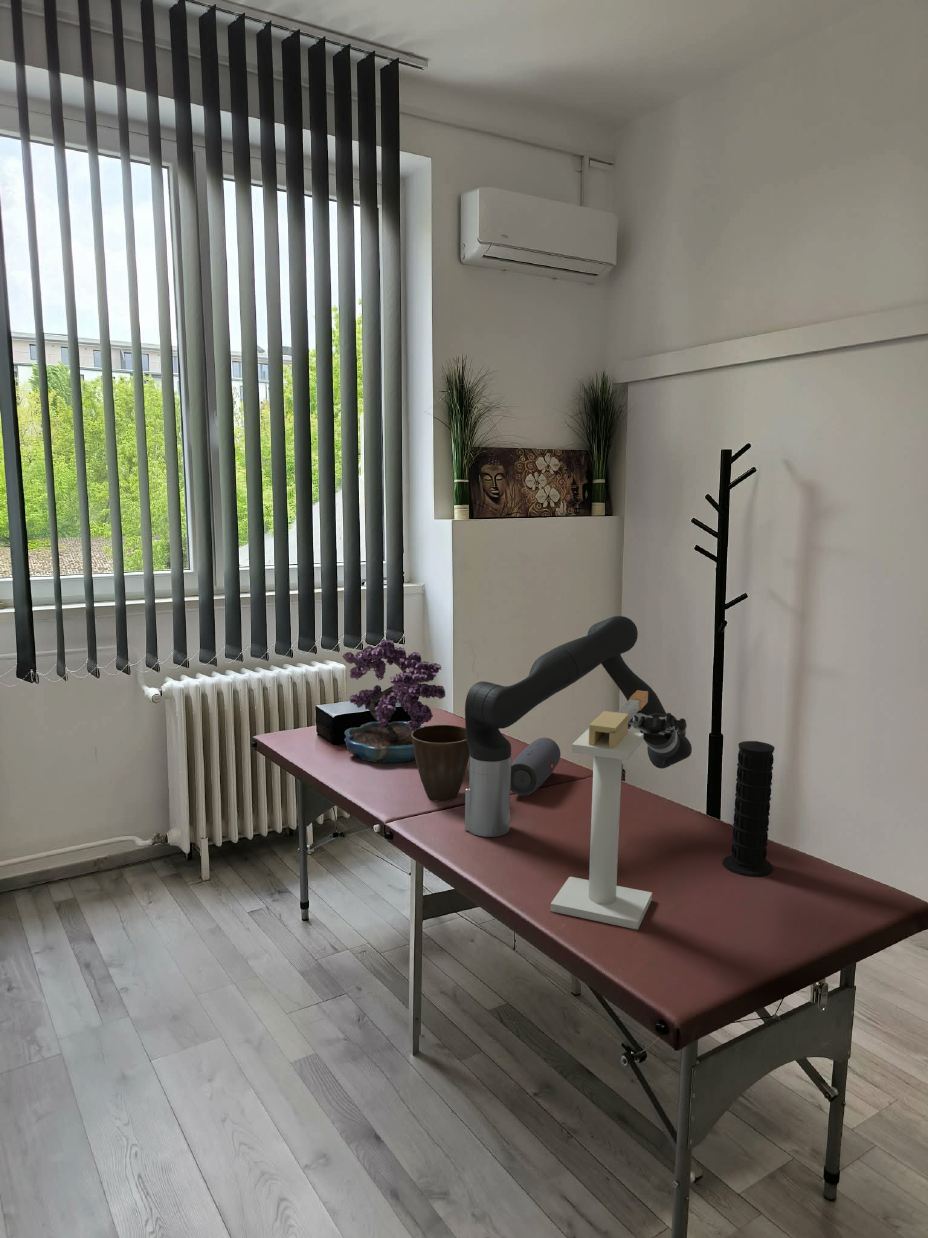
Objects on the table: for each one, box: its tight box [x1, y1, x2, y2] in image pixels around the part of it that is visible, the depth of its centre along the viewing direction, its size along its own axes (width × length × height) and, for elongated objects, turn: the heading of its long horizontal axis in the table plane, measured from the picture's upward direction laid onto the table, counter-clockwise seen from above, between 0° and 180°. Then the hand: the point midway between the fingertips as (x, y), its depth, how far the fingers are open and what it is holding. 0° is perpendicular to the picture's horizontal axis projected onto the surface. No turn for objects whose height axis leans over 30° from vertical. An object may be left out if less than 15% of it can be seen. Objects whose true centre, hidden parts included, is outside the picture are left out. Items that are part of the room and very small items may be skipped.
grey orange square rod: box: [616, 690, 648, 722], centre depth 174 cm, size 2×25×2 cm, turn 157°
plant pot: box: [411, 724, 469, 802], centre depth 218 cm, size 15×15×16 cm
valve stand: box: [550, 710, 653, 931], centre depth 162 cm, size 16×12×36 cm
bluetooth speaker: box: [510, 737, 561, 796], centre depth 227 cm, size 23×9×10 cm, turn 160°
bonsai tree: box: [342, 638, 446, 764], centre depth 247 cm, size 35×27×32 cm
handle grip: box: [722, 740, 776, 878], centre depth 180 cm, size 10×26×10 cm
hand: (648, 715), depth 192 cm, fingers open, 8 cm apart
